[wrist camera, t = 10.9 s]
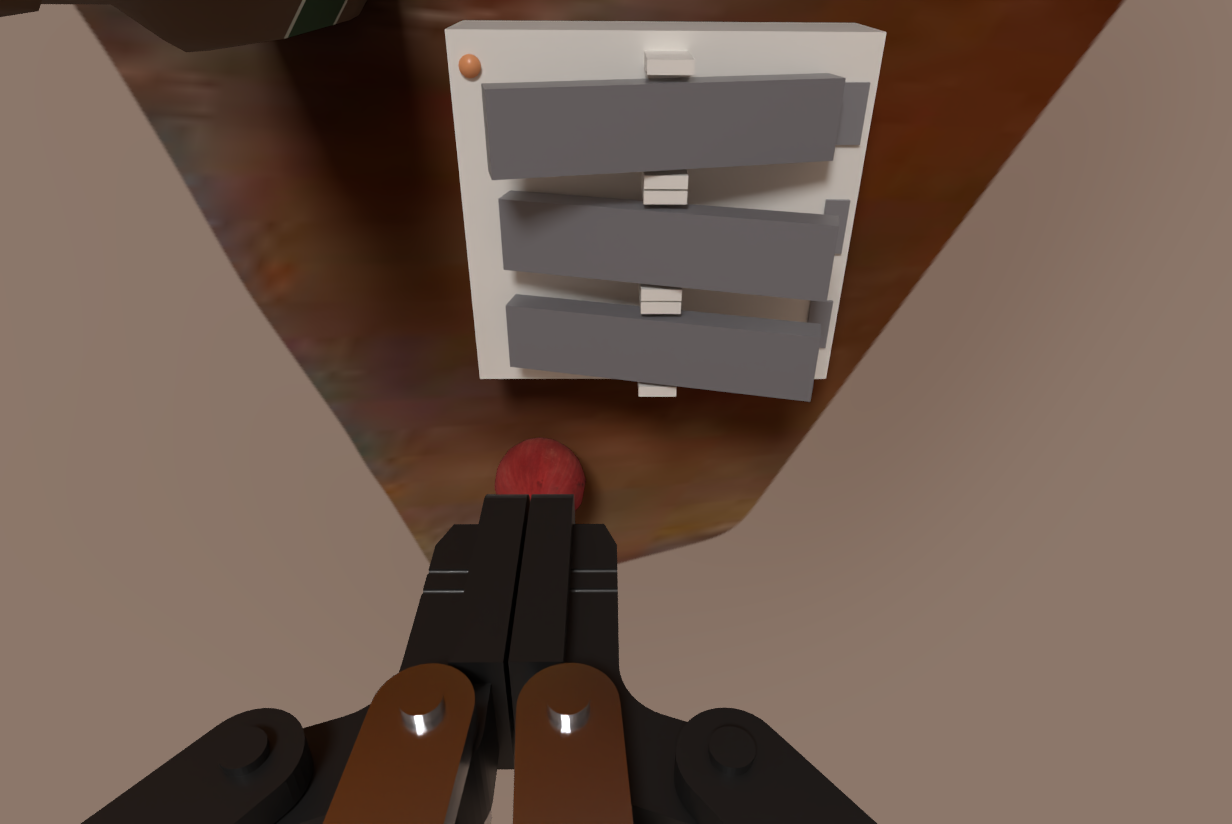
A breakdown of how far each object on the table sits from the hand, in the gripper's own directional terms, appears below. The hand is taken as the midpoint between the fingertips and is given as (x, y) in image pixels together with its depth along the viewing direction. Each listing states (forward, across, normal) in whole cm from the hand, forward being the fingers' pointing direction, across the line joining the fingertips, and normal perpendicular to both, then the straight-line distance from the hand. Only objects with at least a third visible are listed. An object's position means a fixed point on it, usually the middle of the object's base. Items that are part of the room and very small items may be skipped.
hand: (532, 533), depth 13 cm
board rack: (+33, -4, +4) cm, 33 cm away
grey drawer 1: (+25, -4, -2) cm, 26 cm away
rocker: (+25, -4, +4) cm, 26 cm away
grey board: (+25, -4, +9) cm, 27 cm away
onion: (+33, +3, +21) cm, 39 cm away
